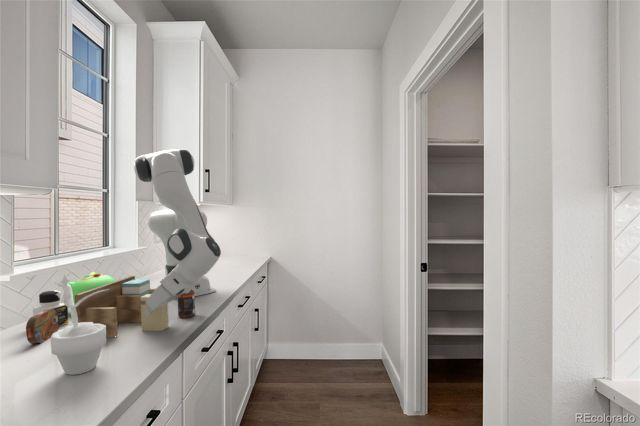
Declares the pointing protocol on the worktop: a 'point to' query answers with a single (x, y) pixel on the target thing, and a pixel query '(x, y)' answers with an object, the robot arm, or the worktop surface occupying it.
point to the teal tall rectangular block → (136, 287)
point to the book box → (153, 317)
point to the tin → (42, 326)
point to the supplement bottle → (186, 304)
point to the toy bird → (89, 283)
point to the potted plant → (77, 338)
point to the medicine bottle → (52, 305)
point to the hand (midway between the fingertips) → (153, 309)
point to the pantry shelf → (109, 306)
